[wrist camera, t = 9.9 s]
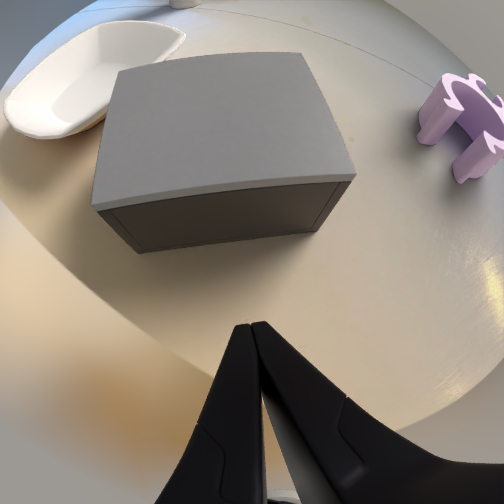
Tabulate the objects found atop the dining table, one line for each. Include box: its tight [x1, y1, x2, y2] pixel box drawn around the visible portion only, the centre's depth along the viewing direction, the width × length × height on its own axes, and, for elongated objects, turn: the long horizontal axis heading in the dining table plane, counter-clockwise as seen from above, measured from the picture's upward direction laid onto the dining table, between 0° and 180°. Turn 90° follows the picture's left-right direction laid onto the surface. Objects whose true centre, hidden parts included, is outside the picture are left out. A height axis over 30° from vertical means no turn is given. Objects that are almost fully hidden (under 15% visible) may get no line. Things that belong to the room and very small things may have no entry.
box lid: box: [91, 52, 356, 211], centre depth 16 cm, size 12×15×1 cm
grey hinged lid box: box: [97, 181, 351, 254], centre depth 20 cm, size 12×15×8 cm
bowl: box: [4, 20, 186, 139], centre depth 25 cm, size 22×22×5 cm
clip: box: [416, 73, 504, 184], centre depth 26 cm, size 20×12×7 cm, turn 132°
